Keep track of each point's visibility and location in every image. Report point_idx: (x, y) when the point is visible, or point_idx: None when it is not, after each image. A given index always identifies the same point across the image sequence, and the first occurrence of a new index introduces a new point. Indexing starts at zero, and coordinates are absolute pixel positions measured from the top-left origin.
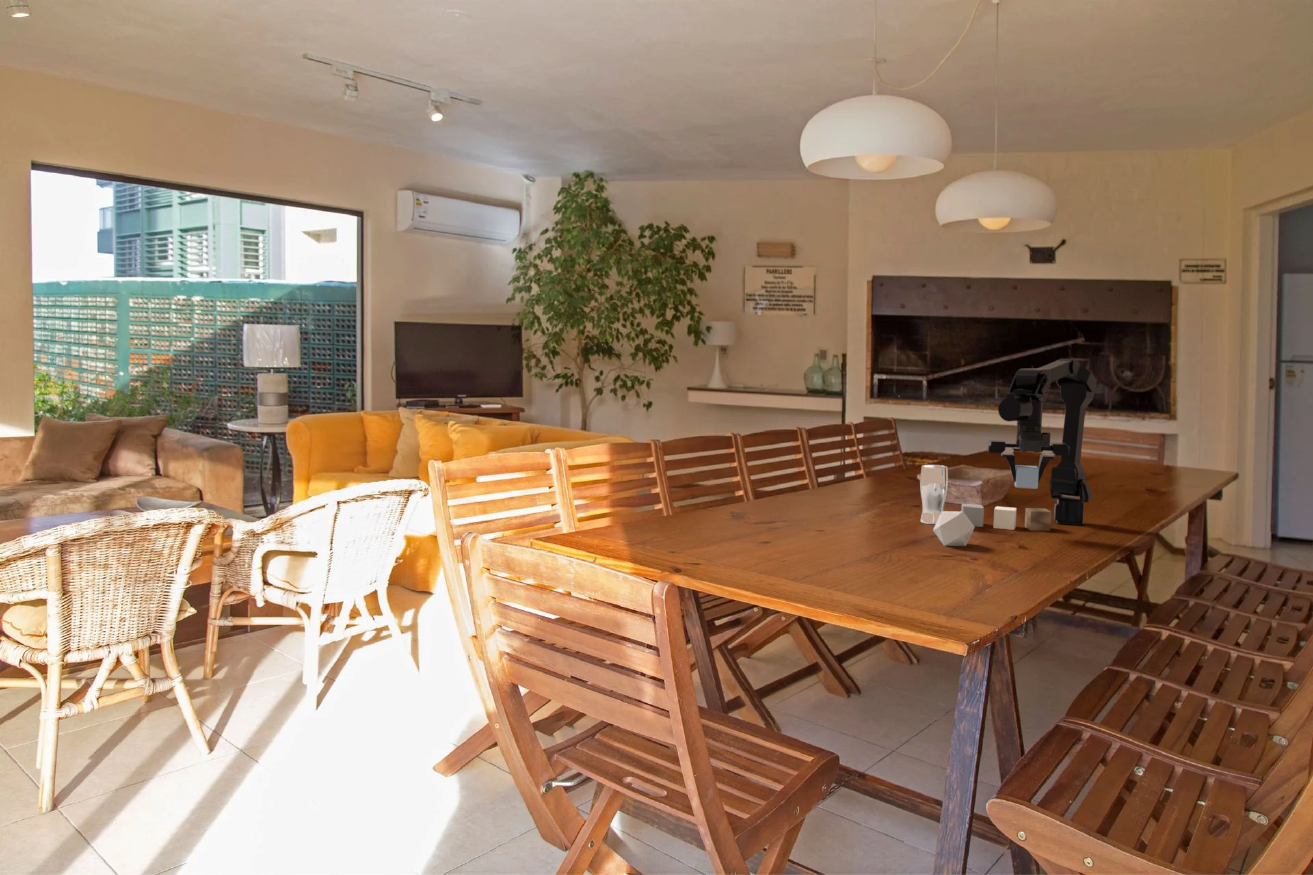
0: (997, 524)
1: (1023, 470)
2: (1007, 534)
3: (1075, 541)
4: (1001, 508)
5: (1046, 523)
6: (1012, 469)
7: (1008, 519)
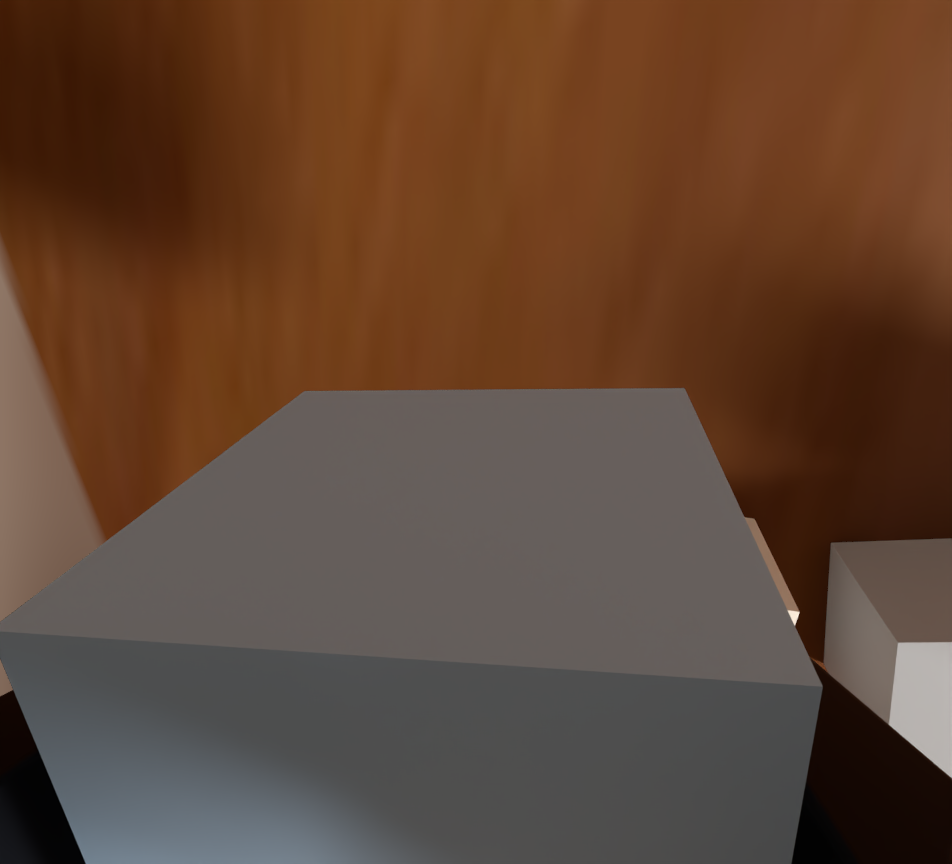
0: None
1: (533, 593)
2: (675, 279)
3: (183, 192)
4: None
5: None
6: (905, 776)
7: None
